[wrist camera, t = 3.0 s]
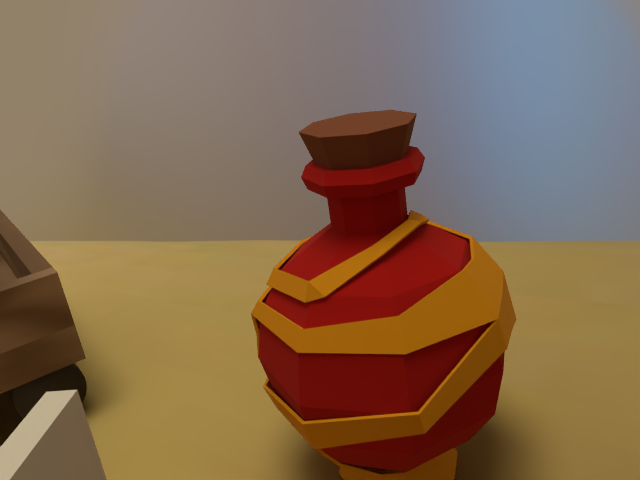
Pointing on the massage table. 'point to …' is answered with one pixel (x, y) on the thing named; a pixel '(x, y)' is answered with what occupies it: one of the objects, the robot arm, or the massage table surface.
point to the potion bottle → (382, 314)
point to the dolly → (34, 325)
